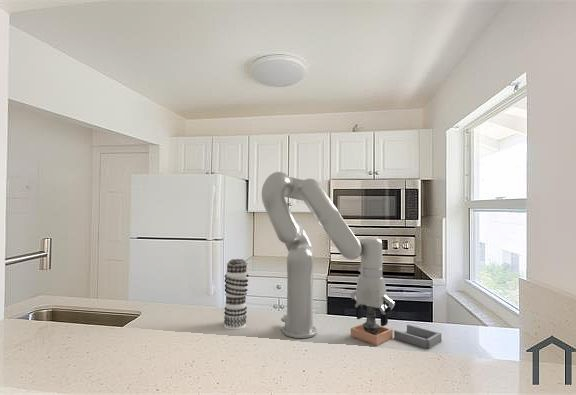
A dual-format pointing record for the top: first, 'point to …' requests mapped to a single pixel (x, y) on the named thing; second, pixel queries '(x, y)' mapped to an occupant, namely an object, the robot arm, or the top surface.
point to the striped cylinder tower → (235, 294)
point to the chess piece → (371, 321)
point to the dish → (381, 337)
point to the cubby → (426, 343)
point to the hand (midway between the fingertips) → (371, 321)
